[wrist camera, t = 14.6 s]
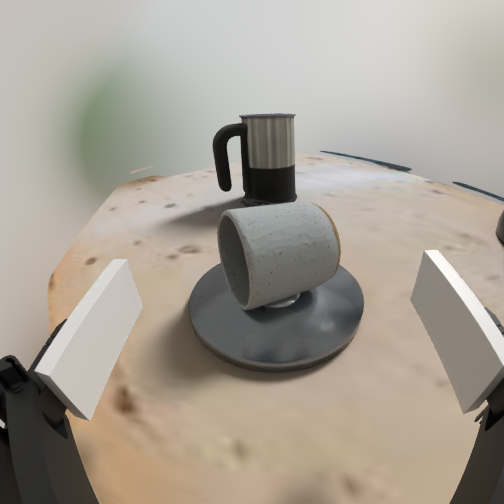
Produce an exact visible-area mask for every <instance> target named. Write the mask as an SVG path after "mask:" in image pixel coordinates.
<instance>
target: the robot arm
mask: <svg viewBox="0 0 504 504" xmlns="http://www.w3.org/2000/svg"><path fill="white" fill-rule="evenodd" d="M496 233H497V235H498V237H499V238H500V239H501V241H502V242H503V243H504V211H503V212H502V214H501V216H500V218H499V221H498V225H497V228H496ZM410 300H411V302H412V304H413V306H414V307H415V309H416V311H417V313H418V315H419V317H420V318H421V320H422V322H423V324H424V326H425V328H426V330H427V332H428V334H429V336H430V338H431V340H432V342H433V344H434V346H435V348H436V350H437V352H438V355H439V357H440V359H441V361H442V363H443V365H444V368H445V370H446V372H447V374H448V377H449V379H450V381H451V384H452V386H453V389H454V391H455V394H456V396H457V399H458V401H459V404H460V406H461V409H462V412H463V414H465V413H467V412H470V411H472V410H475V409H477V408H479V407H480V405H481V404H482V403H483V402H484V401H485V400H486V399H487V402H488V405H487V407H486V408H485V409H484V410H483V411H482V412H481V413H480V414H479V415H478V416H477V417H476V419H475V421H474V422H477V421H478V420H479V419H480V418H481V417H482V416H483V418H482V420H481V421H480V422H479V424H481V425H480V428H479V432H478V435H477V438H476V441H475V444H474V447H473V450H472V453H471V456H470V458H469V461H468V464H467V466H466V469H465V471H464V474H463V476H462V478H461V481H460V483H459V485H458V487H457V489H456V491H455V494H454V496H453V498H452V500H451V502H450V504H504V327H503V326H501V323H500V321H499V320H498V318H497V317H496V316H495V314H493V313H492V312H491V311H490V310H489V309H487V308H486V307H485V308H484V307H483V306H482V305H481V303H480V302H479V300H478V299H477V298H476V296H475V295H474V294H473V292H472V291H471V290H470V289H469V287H468V286H467V285H466V283H465V282H464V281H463V280H462V278H461V277H460V276H459V275H458V274H457V272H456V271H455V270H454V269H453V268H452V266H451V265H450V264H449V263H448V262H447V260H446V259H445V258H444V257H443V256H442V255H441V254H440V252H439V251H438V250H424V253H423V257H422V261H421V265H420V268H419V272H418V276H417V279H416V283H415V286H414V289H413V293H412V296H411V299H410ZM142 308H143V305H142V302H141V299H140V297H139V294H138V291H137V288H136V285H135V282H134V279H133V276H132V273H131V270H130V267H129V264H128V261H127V259H113V260H112V261H111V263H110V264H109V265H108V266H107V268H106V269H105V270H104V271H103V273H102V274H101V275H100V276H99V278H98V279H97V280H96V281H95V283H94V284H93V285H92V287H91V288H90V289H89V291H88V292H87V293H86V295H85V296H84V297H83V299H82V300H81V301H80V303H79V304H78V305H77V307H76V308H75V310H74V311H73V312H72V314H71V315H70V317H69V318H68V319H65V320H64V321H63V322H62V323H60V324H59V325H58V326H57V327H56V329H55V330H54V331H53V333H52V334H51V338H49V339H48V340H47V342H46V345H44V346H43V348H42V350H41V351H40V353H39V354H38V356H37V357H36V359H35V360H34V362H33V364H32V365H31V367H30V369H29V370H28V372H27V371H26V370H25V368H24V367H23V366H22V365H21V364H20V362H19V361H18V359H17V358H16V357H15V356H12V355H9V356H5V357H3V358H2V359H0V419H1V420H2V421H3V422H4V423H5V427H4V429H3V428H2V427H1V426H0V504H99V502H98V500H97V498H96V496H95V494H94V491H93V489H92V487H91V484H90V482H89V479H88V477H87V475H86V472H85V469H84V467H83V464H82V461H81V458H80V456H79V453H78V450H77V447H76V444H75V440H74V437H73V434H72V430H71V427H70V423H69V420H68V417H67V415H66V414H65V411H66V409H68V410H69V411H70V412H71V413H72V414H73V415H74V416H76V417H79V418H82V419H85V420H88V421H91V418H92V416H93V413H94V411H95V408H96V406H97V404H98V401H99V399H100V397H101V394H102V392H103V390H104V387H105V385H106V383H107V381H108V378H109V376H110V374H111V372H112V369H113V367H114V365H115V363H116V361H117V359H118V356H119V354H120V352H121V350H122V348H123V346H124V344H125V342H126V340H127V338H128V336H129V334H130V332H131V330H132V328H133V326H134V324H135V322H136V320H137V318H138V316H139V314H140V312H141V310H142Z"/></svg>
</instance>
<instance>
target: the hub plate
mask: <svg viewBox="0 0 504 504" xmlns="http://www.w3.org/2000/svg"><path fill="white" fill-rule="evenodd" d="M363 308H364V298H363V293H362V290H361V288H360V286H359V284H358V282H357V281H356V279H355V278H354V277H353V276H352V275H351V274H350V273H349V272H348V271H347V270H346V269H345V268H343V267H342V266H340V265H339V266H338V268H337V271H336V272H335V274H334V276H333V277H332V278H331V279H329V280H328V281H327V282H325V283H324V284H322V285H320V286H318V287H316V288H313V289H310V290H307V291H304V292H301V293H298V294H295V295H292V296H290V297H287V298H284V299H281V300H278V301H275V302H272V303H269V304H266V305H263V306H260V307H257V308H254V309H251V310H243V309H242V308H240V307H239V306H238V304H237V303H236V301H235V300H234V298H233V296H232V293H231V291H230V289H229V288H228V285H227V282H226V279H225V275H224V272H223V268H222V264H221V263H220V264H218V265H216V266H215V267H213V268H212V269H210V270H209V271H208V272H207V273H205V274H204V275H203V276H202V277H201V279H200V280H199V281H198V282H197V284H196V285H195V287H194V289H193V291H192V293H191V296H190V300H189V310H190V316H191V320H192V323H193V327H194V329H195V332H196V334H197V336H198V337H199V339H200V341H201V342H202V343H203V344H204V345H205V346H206V348H207V349H209V350H210V351H211V352H212V353H214V354H215V355H216V356H218V357H219V358H221V359H223V360H225V361H227V362H229V363H231V364H234V365H236V366H239V367H242V368H246V369H250V370H255V371H262V372H288V371H295V370H300V369H305V368H308V367H311V366H314V365H317V364H320V363H322V362H324V361H326V360H328V359H330V358H332V357H333V356H335V355H336V354H338V353H339V352H340V351H341V350H343V349H344V348H345V347H346V346H347V345H348V344H349V343H350V341H351V340H352V339H353V338H354V336H355V334H356V332H357V330H358V328H359V325H360V322H361V318H362V314H363Z"/></svg>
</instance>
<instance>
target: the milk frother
mask: <svg viewBox="0 0 504 504" xmlns="http://www.w3.org/2000/svg"><path fill="white" fill-rule="evenodd" d="M294 116H295V114H294V115H293V114H256V115H255V114H254V115H241V116H239V117H241V119H242V123H238V124H231V125H227V126H225V127H223V128H221V129H220V130H219V131H218V132H217V133H216V135H215V137H214V139H213V152H214V159H215V165H216V172H217V177H218V183H219V187H220V189H221V190H223V191H225V192H226V191H230V189H231V187H232V184H231V177H230V169H229V162H228V155H227V142H228V140H229V139H230V138H231V137H233V136H240V137H241V138H240V139H241V158H242V176H243V190H244V192H245V196H244V198H243V199H242V201H241V203H242V204H243V205H245V206H246V207H256V206H266V205H276V204H283V203H291V202H293V201H294V200H296V198H297V195H296V193H295V163H294V162H295V152H294Z"/></svg>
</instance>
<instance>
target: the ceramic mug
mask: <svg viewBox="0 0 504 504" xmlns="http://www.w3.org/2000/svg"><path fill="white" fill-rule="evenodd" d="M217 235H218V247H219V253H220V259H221V264H222V268H223V272H224V275H225V279H226V282H227V285H228V288H229V289H230V291H231V293H232V296H233V298H234V300H235V301H236V303H237V304H238V306H239V307H240V308H242V309H243V310H251V309H254V308H257V307H260V306H263V305H266V304H269V303H272V302H275V301H278V300H281V299H284V298H287V297H290V296H292V295H295V294H298V293H301V292H304V291H307V290H310V289H313V288H316V287H318V286H320V285H322V284H324V283H325V282H327V281H328V280H329V279H331V278H332V277H333V276H334V274H335V272H336V271H337V268H338V266H339V262H340V255H341V247H340V239H339V235H338V232H337V229H336V226H335V224H334V222H333V221H332V219H331V217H330V215H329V214H328V213H327V212H326V211H325V210H324V209H323V208H321V207H320V206H318V205H316V204H312V203H304V202H291V203H283V204H276V205H266V206H256V207H247V208H238V209H230V210H226V211H224V212H223V213H222V214H221V216H220V218H219V222H218V230H217Z"/></svg>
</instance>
